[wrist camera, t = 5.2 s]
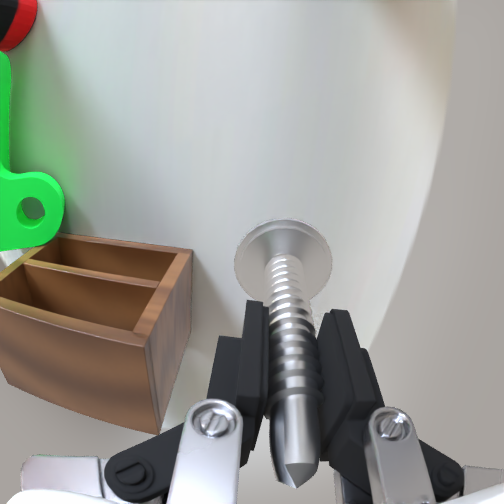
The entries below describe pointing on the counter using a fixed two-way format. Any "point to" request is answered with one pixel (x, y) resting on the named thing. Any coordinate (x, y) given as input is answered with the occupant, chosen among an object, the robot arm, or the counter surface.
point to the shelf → (97, 326)
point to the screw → (289, 336)
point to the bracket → (23, 188)
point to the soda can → (15, 21)
